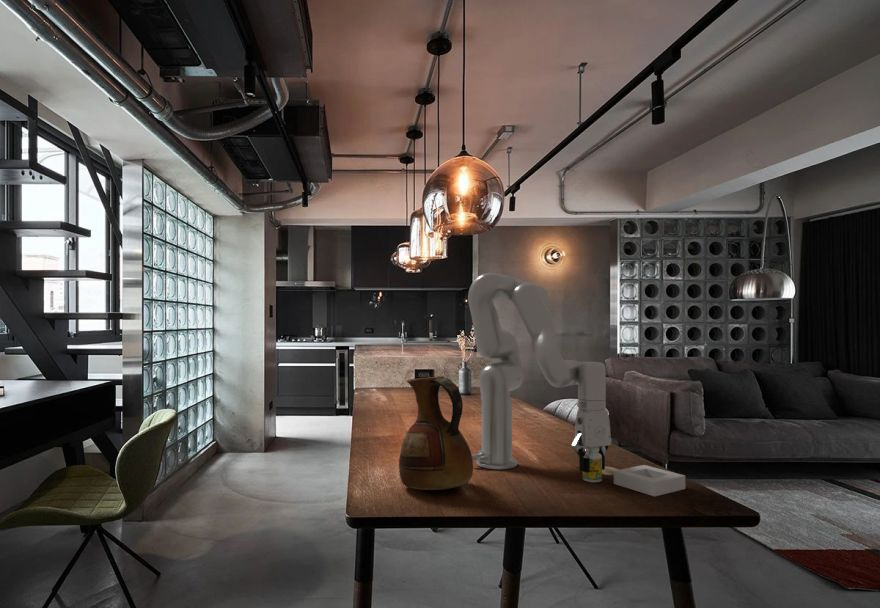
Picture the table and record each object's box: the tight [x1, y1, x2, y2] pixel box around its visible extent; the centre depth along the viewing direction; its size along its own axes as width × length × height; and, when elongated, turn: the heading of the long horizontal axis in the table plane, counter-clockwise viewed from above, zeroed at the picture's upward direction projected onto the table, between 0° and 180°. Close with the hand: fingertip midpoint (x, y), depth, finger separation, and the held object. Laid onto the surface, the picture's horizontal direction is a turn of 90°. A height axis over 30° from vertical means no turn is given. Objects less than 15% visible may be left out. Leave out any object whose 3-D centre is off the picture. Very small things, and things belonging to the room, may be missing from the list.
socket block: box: [613, 464, 686, 497], centre depth 147 cm, size 13×13×4 cm
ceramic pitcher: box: [398, 375, 474, 491], centre depth 144 cm, size 20×20×30 cm
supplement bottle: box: [581, 447, 603, 483], centre depth 152 cm, size 5×5×10 cm
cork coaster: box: [602, 465, 620, 476], centre depth 162 cm, size 9×9×1 cm
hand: (592, 469), depth 152 cm, fingers closed on supplement bottle, 5 cm apart
